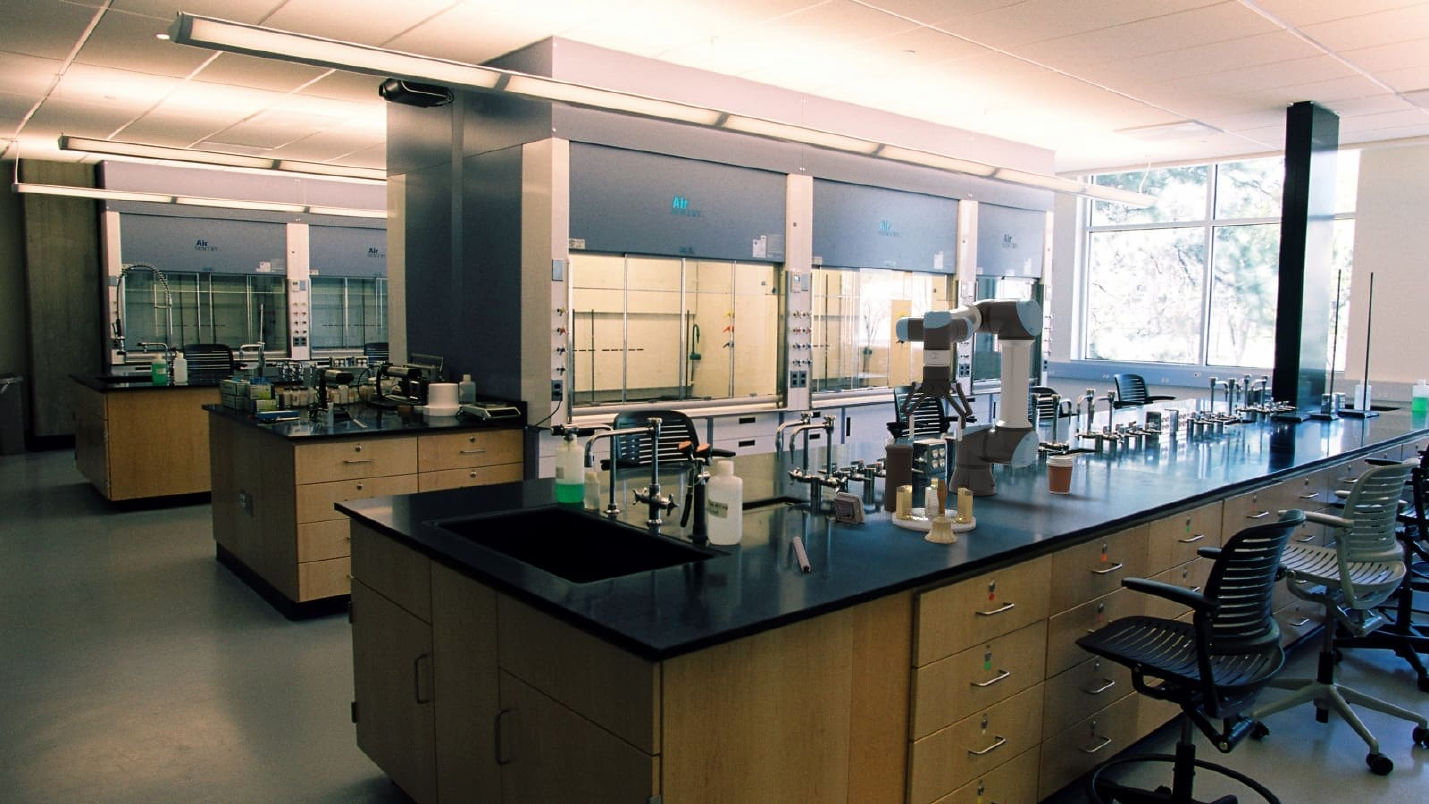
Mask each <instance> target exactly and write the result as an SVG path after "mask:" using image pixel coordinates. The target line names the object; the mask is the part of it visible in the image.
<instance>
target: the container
mask: <svg viewBox="0 0 1429 804" xmlns="http://www.w3.org/2000/svg"><path fill="white" fill-rule="evenodd" d="M884 450H885V452H886V455H885V456H886V457H885V476H884V477H885V478H884V499H883V509H884V510H885V511H889V512H893V513H894V512H895V511H896V503H897V492H896V491H897V487H901V486H905V485H910V486H912V484H913V483H912V479H913V478H912V475H913V453H914V451H915V448H914V446H912V445H909V444H903V443H902V444H901V443H894V444H886V446H885V447H884Z"/></svg>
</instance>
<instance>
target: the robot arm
mask: <svg viewBox="0 0 1429 804" xmlns="http://www.w3.org/2000/svg"><path fill="white" fill-rule="evenodd" d="M1043 328H1044V315H1043V311H1042V307H1041V306H1040V304H1039V303H1038V302H1037V301H1036V300H1035V299H1034V298H1024V297H1020V298H1017V297H1013V298H987V299H986V298H985V299H982V300H978V301H973V302H970V303H963V304H962V305H960V306H959V307H957V308H954V309H949V310H926V311H925V312H924V314H923V315H922V314H921V315H918V316H910V315H908V316H902V317H900V318H899V319H897V321H896V325H895V335H896V337H897V339H898V340H899V341H901V342H908V343H910V342H911V343H913V342H915V343H917V342H921V343H923V348H922V349H923V350H922V352H923V353H922V363H923V364H924V365H923V367H922V381H921V382H918V381H917V380H915V381H914V380H913V381H912V382H911V384H910V389H909V392H908V393H907V395H906V398H905V399H904V401H903V403H902V406H901V407H900V409H899V413H900V414H903V415H905V426H906V427H909V429H908V430H909V432H908V433H909V437H908V439H913V438H914V437H915V414H913V413H914V411H915V410H916V409H917V408H918V407H919V406H920V405H921V404H922V403H923V401H924V400H925V399H926V398H930V399H934V398H937V399H942V398H944V399H945V400H946V401H947V402H948V403H949V404H950V406H951V407H952V408H953V409H954V410H955V412H956V413H957V414H958V415H959V417H958V418H957V429H956V435H955V456H954V457H955V463H954V465H955V466H954V467H955V468H954V470H953V473H952V476H951V478H950V481H949V485H948V487H949V488H948V491H949V492H951V493H954V494H957V495H958V488H965V489H968V490H970V491H973V496H980V497H981V496H992V495H996V493H997V492H996V491H997V488H996V487H997V486H996V483H995V479H994V476H993V473H992V464H995V465H997V464H998V465H1005V466H1011V467H1013V468H1014V467H1020V468H1021V467H1024V468H1025V467H1028V466H1030V465H1031V464H1032V463H1033V462H1034V461H1035V459H1036V457H1037V455H1038V452H1039V447H1040V437H1039V434H1038V433H1037V432H1036V431H1033V424H1032V423H1031V422H1030V421H1029V415H1028V414H1029V391H1030V390H1029V389H1030V386H1029V385H1030V359H1031V354H1030V353H1031V345H1032V344H1034V343H1035V342H1036V336H1038V335H1040V334H1041V333H1042V331H1043ZM973 334H984V335H996V336H997V339H996V340H997V342H998V343H999V344H1000V345H1001V366H1000V367H1001V369H1000V370H1001V374H1000V402H999V403H1000V407H999V420H997V421H996V422H995V423H994V426H993V423H992V422H982V423H968V424H967V417H971V416H972V415H973V414H974V411H973V409H972V407H971V406H970V403H969V402H968V399H967V397H966V395H965V393H964V391H963V384H962V382H960V381H959V382H953V383H952V382H951V367H950V364H951V344H953V343H956V344H957V343H958V344H961V343H964V342H967V341H968V340H970V339H971V338H972V336H973ZM920 388H921V389H922V391H923V392H922V394H921V395H920V396H919V397H918V398H917V400H915V402H914V403H913V404H912V405H911V406H910V408H908V407H909V405H910V403H911V401H912V400H913V397H914V396H915V393H916V391H917V390H919V389H920ZM951 389H953V390H954V391H956V394H957V396H958V398H959V401H960V402H961V405H962V407H963V408H964V409H963V408H962V407H961V406H960V404H958V402H957V401H956V400H955V399H954V397H953V396H952V395H951V393H950V392H949V391H950V390H951Z"/></svg>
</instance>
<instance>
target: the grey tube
mask: <svg viewBox="0 0 1429 804" xmlns="http://www.w3.org/2000/svg"><path fill="white" fill-rule="evenodd" d="M792 542H793V545H794V548H795V551H796V556H797V558H798V561H799V564H800V568H801V571H802V572H803V571H804V569H808V571H809V572H811V569H812V568H811V565H810V562H809V559H808V555H807V553H806V550H805V548H804V545H803V542H802V540H801V537H800V536H794V537H793V539H792ZM809 572H808V573H809Z"/></svg>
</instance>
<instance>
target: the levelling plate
mask: <svg viewBox="0 0 1429 804" xmlns="http://www.w3.org/2000/svg"><path fill="white" fill-rule="evenodd" d="M937 487H938V485H932V484H930V485H929V486H926V487H925V489H924V490H925V493H924V494H925V495H924V507H916V508H915V507H911V515H912V518H911V519H897V518H896V511H895V512H894V511H893V512H892V517H891V518H892V519H891V521H892V523H893V524H894V525H895V526H897V527H900V528H902V529H907V530H910V531H911V530H912V531H916V532H917V531H918V532H924V533H929V532H930V530H931V528H932V524H933V519H934V518H937V517H938V515H939V513H938V511H939V501H938V498H937ZM945 517H946V518H948V519H949V520H950V522H951V529H952V532H953V534H954V533H962V532H969V531H971V530H974V529H975V528H976V527H977V526H976V523H977V522H976V521H977V519H976V517H975V516H974V515H972V519H973V522H972V523H960V522H957V521H956V518H957V510H953V509H947V508H945Z"/></svg>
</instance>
